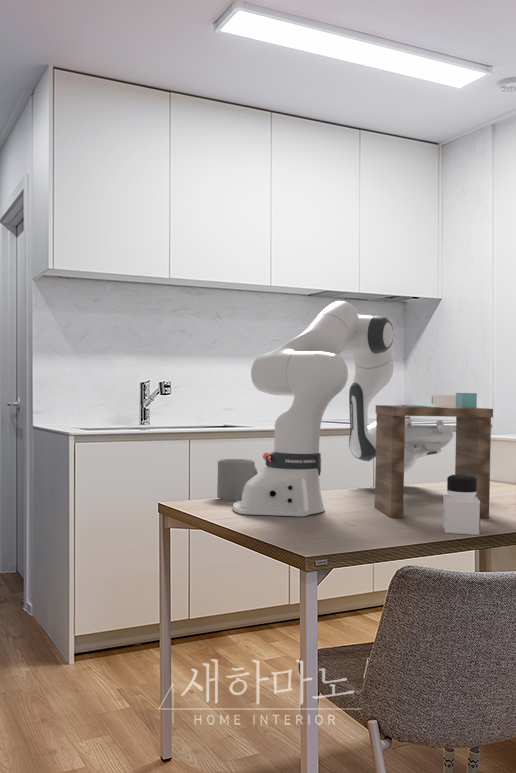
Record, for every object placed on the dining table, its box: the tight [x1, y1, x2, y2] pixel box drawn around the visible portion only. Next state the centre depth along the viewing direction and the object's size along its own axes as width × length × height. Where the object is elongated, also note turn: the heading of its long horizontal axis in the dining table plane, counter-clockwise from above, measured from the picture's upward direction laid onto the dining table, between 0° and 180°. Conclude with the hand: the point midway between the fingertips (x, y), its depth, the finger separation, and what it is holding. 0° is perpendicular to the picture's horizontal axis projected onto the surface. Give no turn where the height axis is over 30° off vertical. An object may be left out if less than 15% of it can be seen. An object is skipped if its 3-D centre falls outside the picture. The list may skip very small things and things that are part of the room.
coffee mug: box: [216, 458, 259, 502], centre depth 190 cm, size 13×10×10 cm
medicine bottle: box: [442, 474, 481, 536], centre depth 149 cm, size 7×7×12 cm
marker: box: [431, 392, 478, 408], centre depth 177 cm, size 23×4×4 cm, turn 6°
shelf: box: [374, 404, 494, 519], centre depth 171 cm, size 24×16×26 cm, turn 96°
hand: (424, 422), depth 197 cm, fingers open, 8 cm apart
